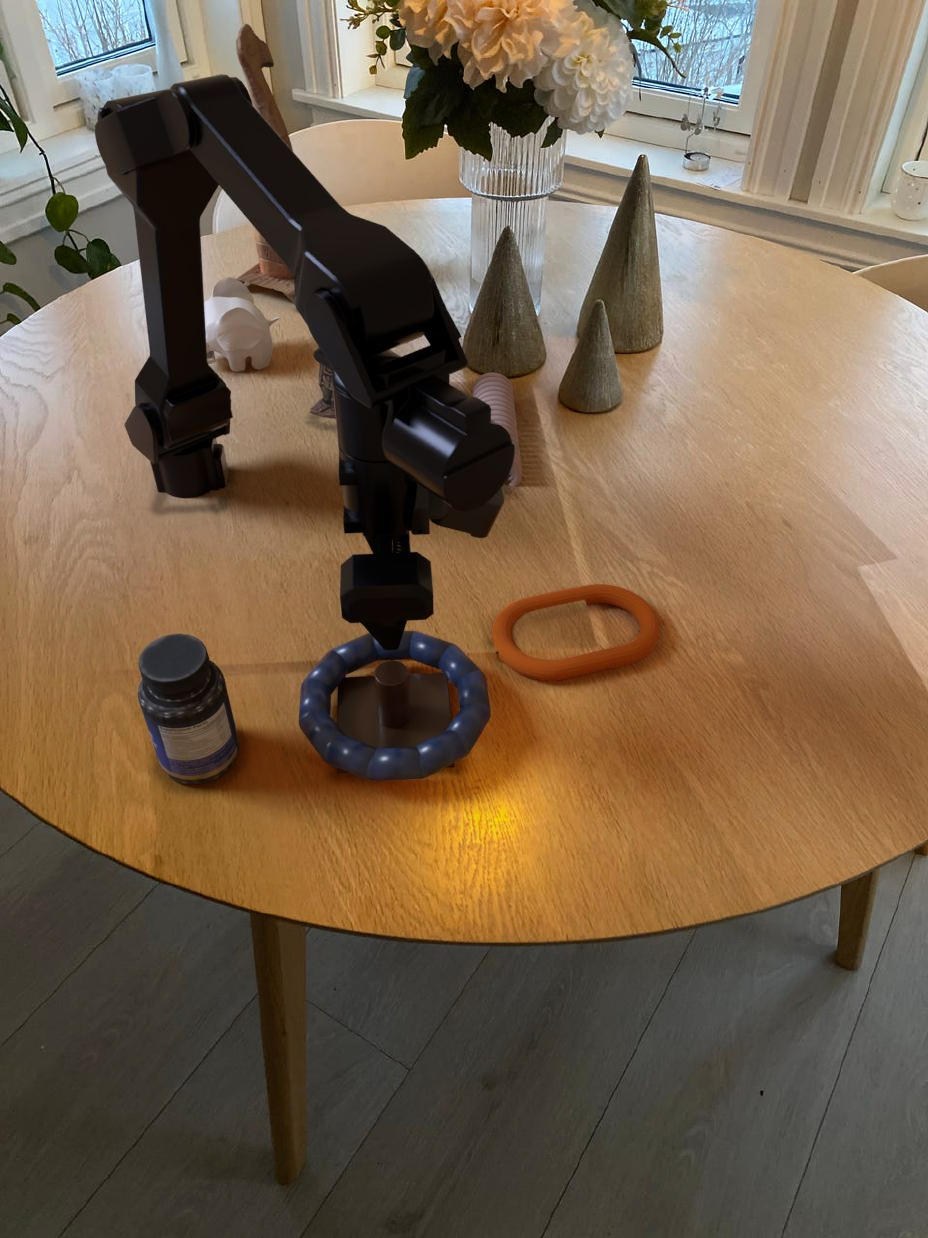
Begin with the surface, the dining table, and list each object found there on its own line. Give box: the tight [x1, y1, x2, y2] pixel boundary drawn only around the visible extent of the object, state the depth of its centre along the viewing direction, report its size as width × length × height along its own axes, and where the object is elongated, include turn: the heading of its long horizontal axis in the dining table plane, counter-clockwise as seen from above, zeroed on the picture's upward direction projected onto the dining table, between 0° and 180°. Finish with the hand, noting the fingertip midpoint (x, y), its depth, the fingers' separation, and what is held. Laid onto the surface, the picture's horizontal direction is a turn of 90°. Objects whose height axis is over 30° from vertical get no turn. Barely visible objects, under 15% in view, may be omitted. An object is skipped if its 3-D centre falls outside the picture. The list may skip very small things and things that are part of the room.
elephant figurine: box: [204, 276, 281, 373], centre depth 116 cm, size 10×12×9 cm
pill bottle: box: [137, 633, 240, 785], centre depth 70 cm, size 6×6×11 cm
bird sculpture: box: [235, 23, 295, 305], centre depth 123 cm, size 11×12×32 cm
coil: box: [471, 371, 523, 488], centre depth 104 cm, size 5×5×18 cm
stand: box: [335, 660, 456, 775], centre depth 74 cm, size 9×9×6 cm
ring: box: [298, 630, 492, 783], centre depth 75 cm, size 15×15×2 cm
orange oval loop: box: [491, 583, 661, 681], centre depth 83 cm, size 10×2×15 cm
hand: (389, 607), depth 76 cm, fingers open, 9 cm apart
